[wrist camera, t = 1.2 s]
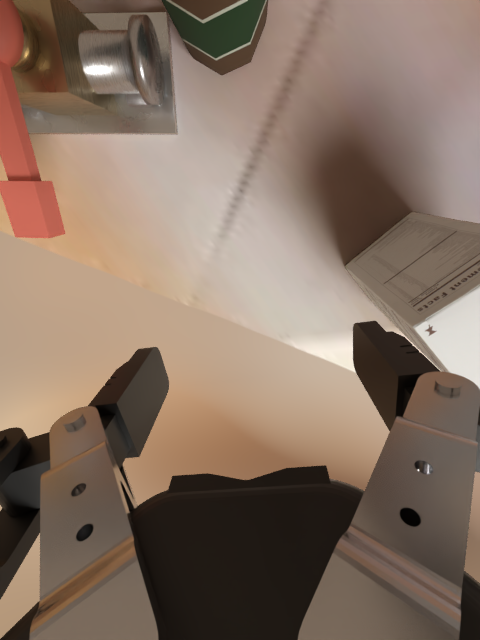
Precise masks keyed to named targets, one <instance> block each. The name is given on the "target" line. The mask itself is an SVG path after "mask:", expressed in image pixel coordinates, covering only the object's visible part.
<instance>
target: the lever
mask: <svg viewBox="0 0 480 640" xmlns="http://www.w3.org/2000/svg"><path fill="white" fill-rule="evenodd" d="M23 46H24V32H23V26H22V22H21V18H20V15H19V13H18V10H17V8H16V6H15V4H14V2H13V1H12V0H0V155H1V158H2V161H3V164H4V168H5V171H6V174H7V177H8V180H9V181H0V192H1V195H2V198H3V201H4V204H5V207H6V210H7V213H8V216H9V219H10V222H11V225H12V228H13V231H14V234H15V237H27V238H52V237H55V236H59V235H63V234H65V230H64V226H63V223H62V219H61V215H60V211H59V207H58V203H57V199H56V195H55V191H54V187H53V184H52V181H41V178H40V174H39V171H38V167H37V163H36V159H35V156H34V152H33V148H32V145H31V141H30V137H29V134H28V130H27V126H26V123H25V119H24V115H23V112H22V108H21V104H20V101H19V97H18V93H17V89H16V86H15V82H14V78H13V75H12V71H11V67H13V66H14V65H15V64H16V63H17V62H18V60H19V59H20V57H21V54H22V51H23Z"/></svg>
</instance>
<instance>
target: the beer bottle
mask: <svg viewBox="0 0 480 640" xmlns="http://www.w3.org/2000/svg"><path fill="white" fill-rule="evenodd" d="M162 2H163V4H164V6H165V8H166V10H167V11H168V13H169V15H170V17H171V19H172V21H173V23H174V25H175V26H176V28H177V30H178V32H179V34H180V36H181V38H182V40H183V42H184V43H185V45H186V47H187V49H188V51H189V53H190V54H191V55H192V57H193V58H194V59H195V60H197V61H199V62H200V63H202V64H204V65H205V66H207V67H209V68H210V69H212V70H214V71H215V72H217V73H219V74H220V75H224V74H226V73H228V72H230V71H233V70H235V69H237V68H239V67H241V66H243V65H245V64H248V63H250V62H251V60H252V57H253V55H254V52H255V49H256V47H257V44H258V42H259V39H260V36H261V34H262V31H263V29H264V26H265V23H266V17H267V6H268V0H162Z"/></svg>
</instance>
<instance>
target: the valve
mask: <svg viewBox="0 0 480 640" xmlns="http://www.w3.org/2000/svg"><path fill="white" fill-rule="evenodd" d="M12 1H13V2H14V4H15V6H16V8H17V10H18V13H19V15H20V18H21V22H22V26H23V32H24V46H23V51H22V54H21V57H20V59H19V60H18V62H17V63H16V64H15V65H14V66H13V67H11V71H12V75H13V78H14V82H15V86H16V89H17V93H18V97H19V101H20V104H21V108H22V112H23V115H24V119H25V123H26V126H27V130H28V134H177V120H176V107H175V93H174V80H173V66H172V52H171V39H170V25H169V16H168V14H167V12H141V13H81V12H80V11H79V10H78V9H77V8H76V7H75V6H74V5H73V4H72V3H71V2H70V1H69V0H12Z"/></svg>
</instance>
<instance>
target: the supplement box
mask: <svg viewBox="0 0 480 640" xmlns="http://www.w3.org/2000/svg"><path fill="white" fill-rule="evenodd" d="M345 268H346V269H347V271H348V272H349V273H350V275H351V276H352V277H353V279H354V280H355V281H356V282H357V284H358V285H359V286H360V287H361V288H362V290H363V291H364V292H365V293H366V295H367V296H368V297H369V298H370V299H371V301H372V302H373V303H374V304H375V305H376V306H377V308H378V309H379V310H380V311H381V312H382V313H383V314H384V315H385V316H386V317H387V318H388V319H389V320H390V321H391V322H392V323H393V324H394V325H395V326H396V327H397V328H398V329H399V330H400V331H401V332H402V333H403V334H404V335H405V336H406V337H407V338H408V339H409V340H410V341H411V342H412V343H413V344H414V345H415V346H416V347H417V348H418V349H419V350H420V351H421V352H422V353H423V354H424V355H425V356H426V357H427V358H429V359H430V360H431V361H432V362H433V363H434V364H435V365H436V366H437V367H438V368H439V369H440V370H441V371H442V372H448V373H453V374H457V375H460V376H463V377H465V378H467V379H469V380H471V381H472V382H473V383H475V384H476V385H477V386H478V387H479V389H480V224H478V223H473V222H468V221H460V220H455V219H450V218H444V217H439V216H433V215H428V214H422V213H417V212H411V213H410V214H408V215H407V216H406V217H405V218H403V219H402V220H401V221H400V222H398V223H397V224H396V225H395V226H393V227H392V228H391V229H390V230H388V231H387V232H386V233H385V234H384V235H382V236H381V237H380V238H379V239H377V240H376V241H375V242H374V243H372V244H371V245H370V246H369V247H368V248H366V249H365V250H364V251H363V252H361V253H360V254H359V255H358V256H356V257H355V258H354V259H353V260H351V261H350V262H349V263H348V264H347V265H346V266H345Z"/></svg>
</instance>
